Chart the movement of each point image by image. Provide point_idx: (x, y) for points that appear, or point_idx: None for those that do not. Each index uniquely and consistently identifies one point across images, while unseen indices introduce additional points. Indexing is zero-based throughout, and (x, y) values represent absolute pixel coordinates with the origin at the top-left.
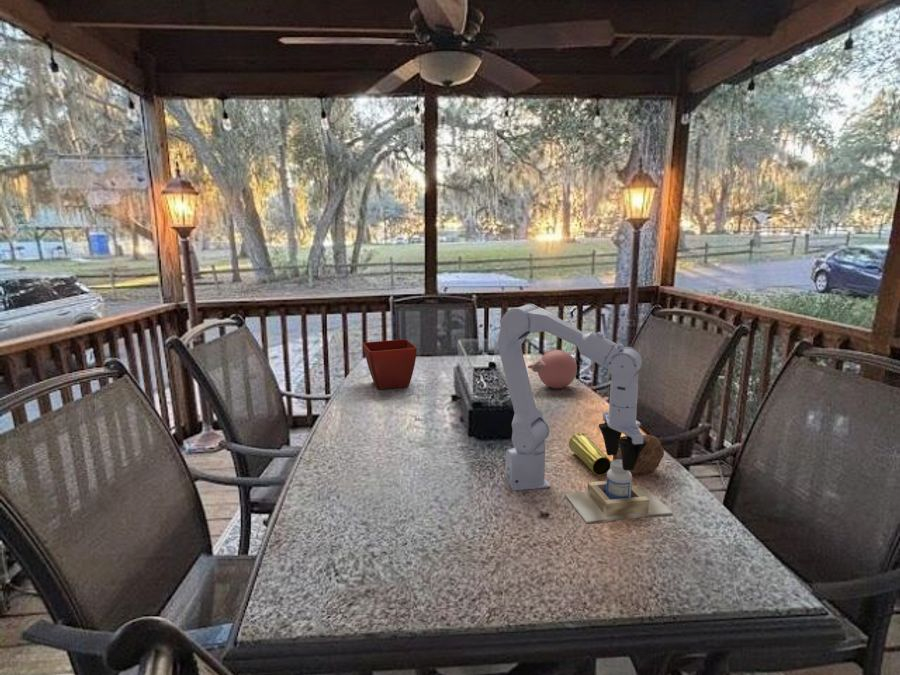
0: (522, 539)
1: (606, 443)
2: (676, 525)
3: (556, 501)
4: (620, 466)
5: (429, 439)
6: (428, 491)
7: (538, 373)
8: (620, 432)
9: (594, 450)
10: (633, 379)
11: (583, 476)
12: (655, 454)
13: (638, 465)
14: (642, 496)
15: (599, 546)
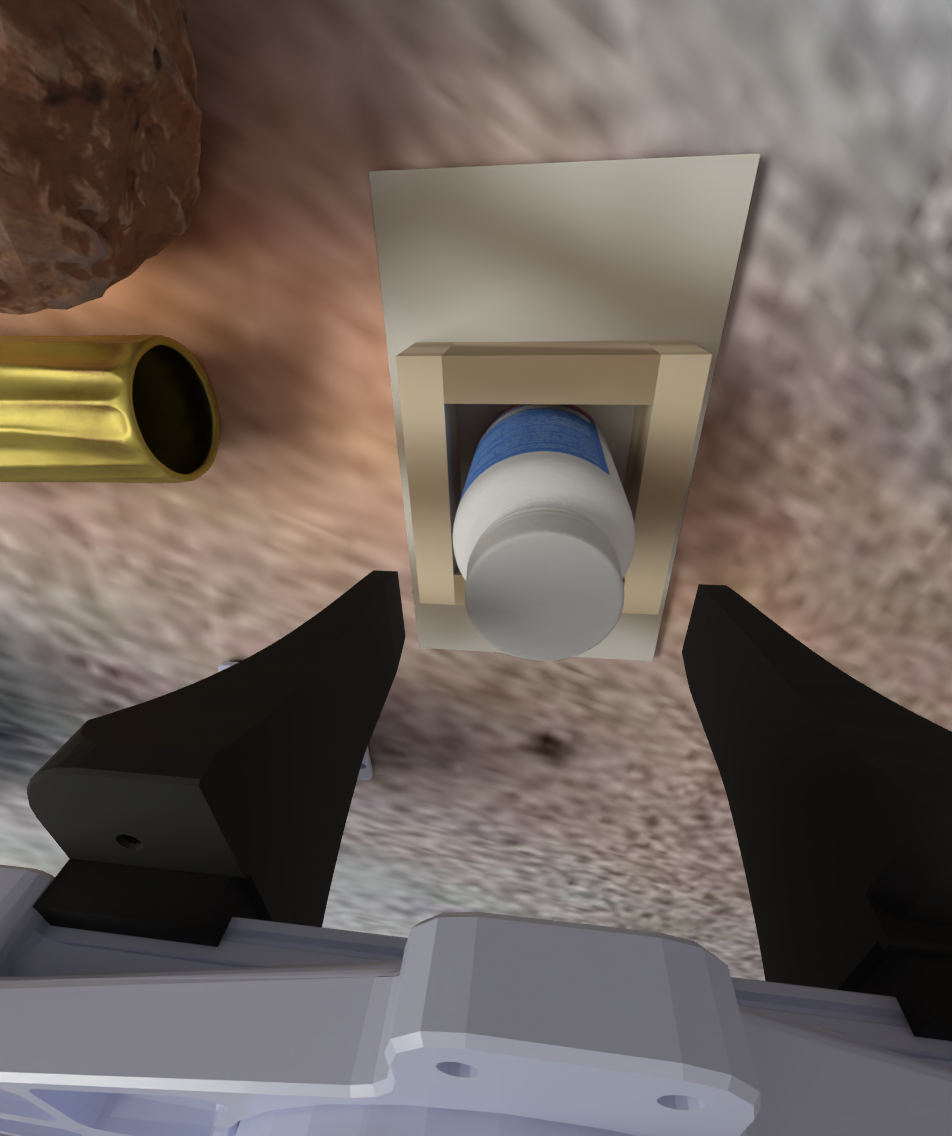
0: (663, 831)
1: (369, 739)
2: (879, 218)
3: (463, 684)
4: (603, 627)
5: (16, 852)
6: (361, 914)
7: None
8: (287, 718)
9: (29, 439)
10: None
11: (232, 494)
12: None
13: (167, 116)
14: (657, 379)
15: None
